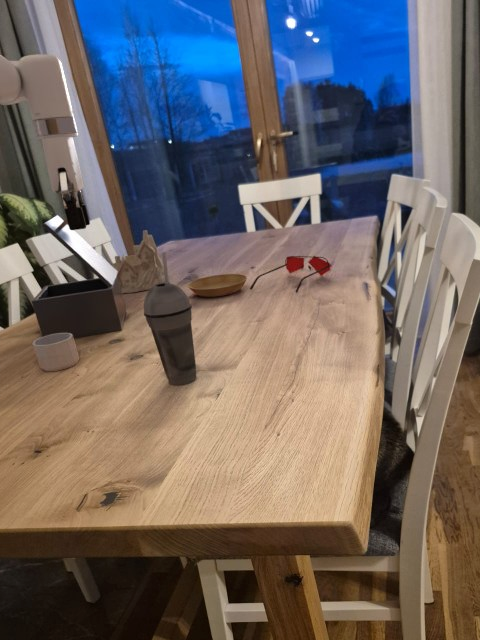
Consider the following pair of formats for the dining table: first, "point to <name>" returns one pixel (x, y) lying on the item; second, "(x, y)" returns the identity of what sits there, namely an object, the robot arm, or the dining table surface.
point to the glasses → (298, 263)
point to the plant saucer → (218, 285)
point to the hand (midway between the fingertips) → (80, 226)
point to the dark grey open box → (80, 308)
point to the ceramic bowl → (56, 351)
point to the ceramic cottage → (140, 267)
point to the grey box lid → (81, 249)
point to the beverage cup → (172, 329)
